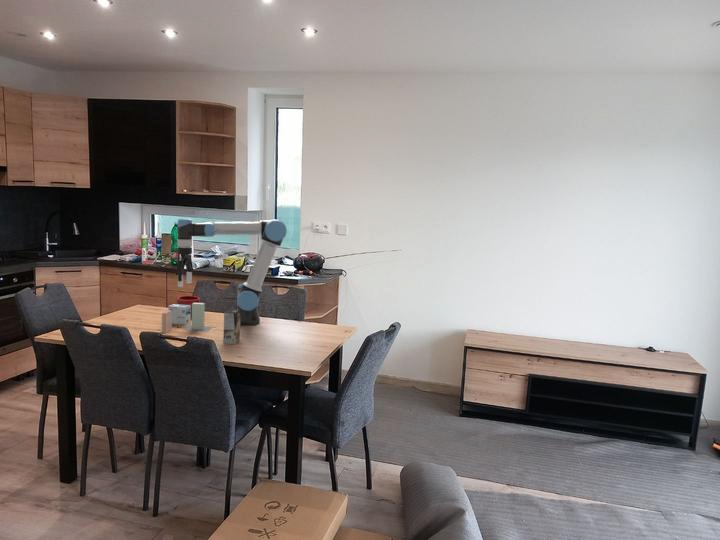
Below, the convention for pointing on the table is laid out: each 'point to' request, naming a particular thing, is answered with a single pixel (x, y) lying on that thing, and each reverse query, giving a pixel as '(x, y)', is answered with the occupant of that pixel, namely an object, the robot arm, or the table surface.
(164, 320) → the tile
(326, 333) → the table surface
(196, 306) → the pusher tool
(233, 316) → the coffee box
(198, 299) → the plant pot
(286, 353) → the table surface
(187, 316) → the light bulb box
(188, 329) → the tool mat
